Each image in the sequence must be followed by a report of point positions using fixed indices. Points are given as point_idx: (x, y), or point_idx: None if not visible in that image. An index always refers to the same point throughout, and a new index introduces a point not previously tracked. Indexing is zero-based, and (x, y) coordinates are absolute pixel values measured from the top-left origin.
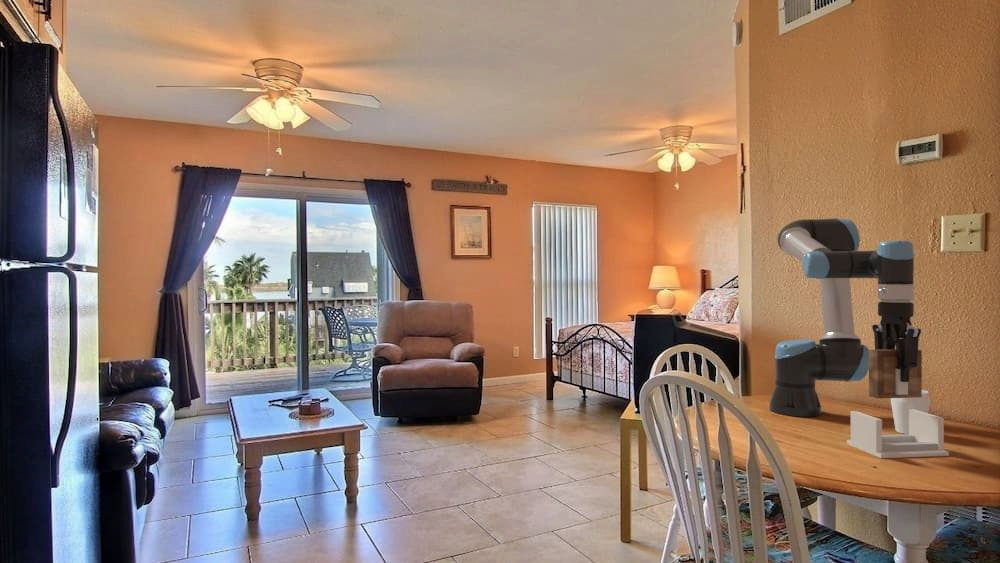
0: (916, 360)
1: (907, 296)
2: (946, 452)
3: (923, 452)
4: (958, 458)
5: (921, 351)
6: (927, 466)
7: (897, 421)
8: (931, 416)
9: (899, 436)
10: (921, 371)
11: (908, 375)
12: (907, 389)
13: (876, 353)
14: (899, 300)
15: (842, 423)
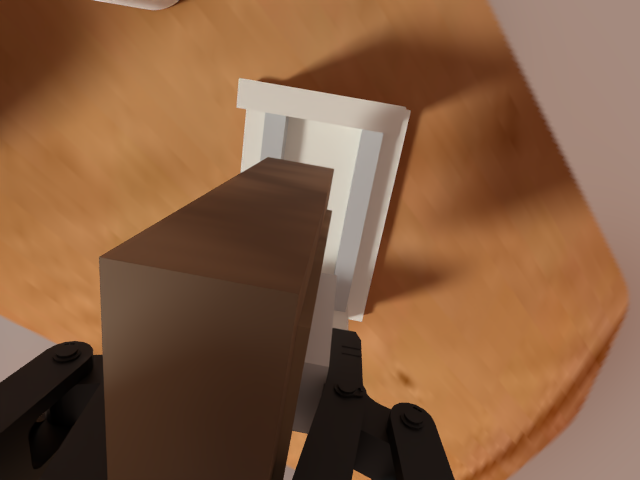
0: (447, 473)
1: None
2: (408, 119)
3: (389, 199)
4: (438, 107)
5: (299, 286)
6: (451, 265)
7: (124, 5)
8: (363, 128)
9: None
10: (323, 206)
11: (359, 364)
12: (335, 290)
13: None
14: None
15: (10, 106)
